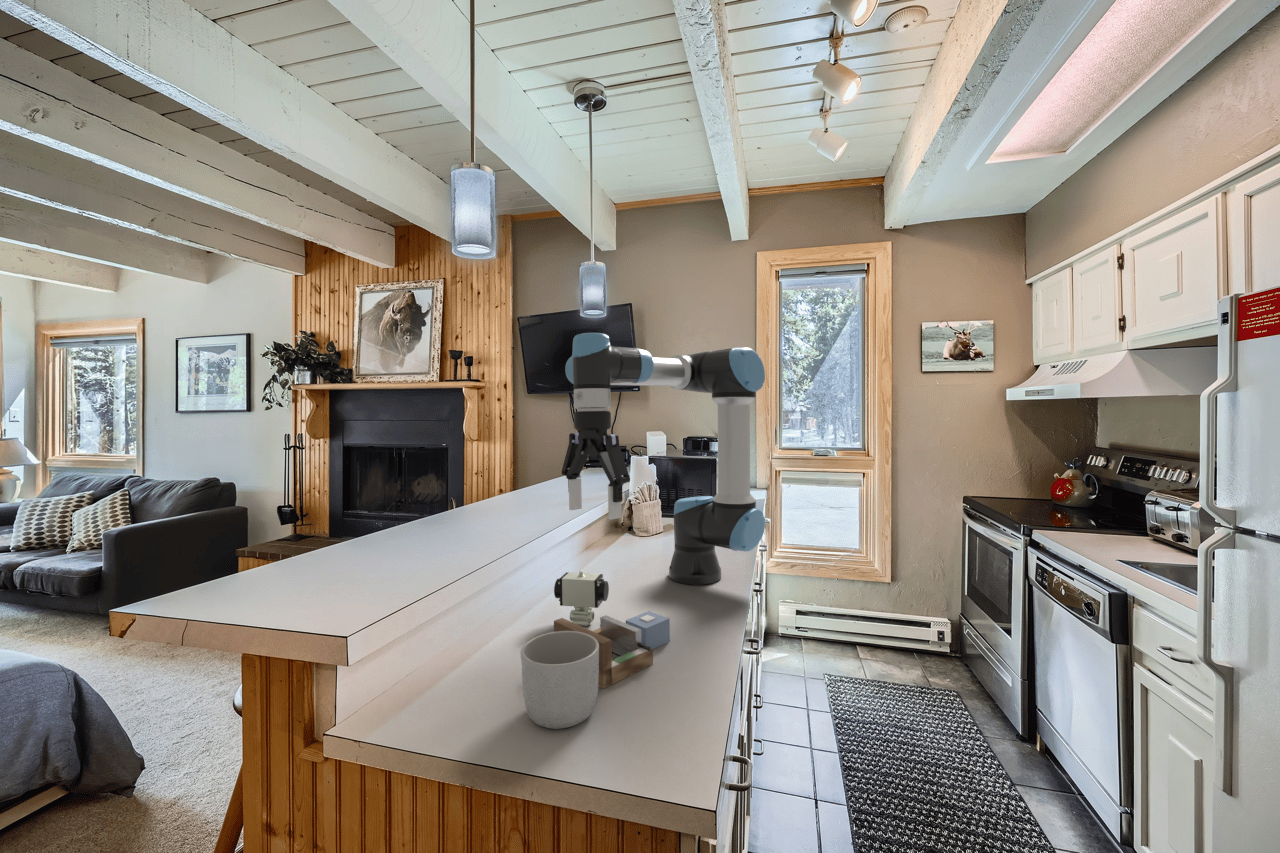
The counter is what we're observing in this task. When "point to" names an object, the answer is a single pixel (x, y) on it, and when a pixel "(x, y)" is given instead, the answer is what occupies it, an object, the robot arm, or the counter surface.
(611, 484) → the robot arm
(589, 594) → the pneumatic valve
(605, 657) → the gauge frame
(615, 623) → the grey flat panel
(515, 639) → the counter surface
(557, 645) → the planter
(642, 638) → the blue block
